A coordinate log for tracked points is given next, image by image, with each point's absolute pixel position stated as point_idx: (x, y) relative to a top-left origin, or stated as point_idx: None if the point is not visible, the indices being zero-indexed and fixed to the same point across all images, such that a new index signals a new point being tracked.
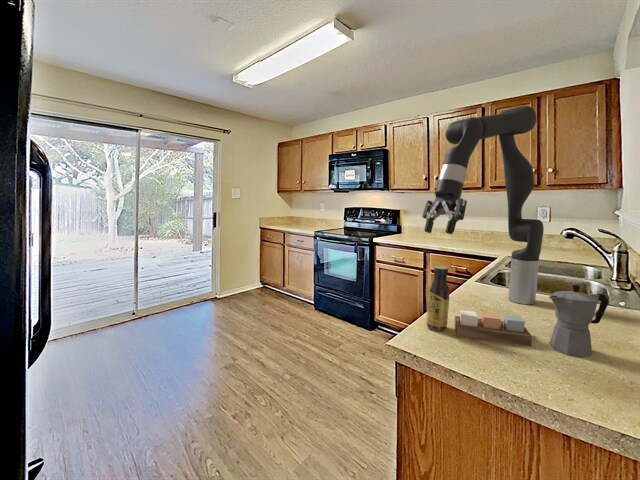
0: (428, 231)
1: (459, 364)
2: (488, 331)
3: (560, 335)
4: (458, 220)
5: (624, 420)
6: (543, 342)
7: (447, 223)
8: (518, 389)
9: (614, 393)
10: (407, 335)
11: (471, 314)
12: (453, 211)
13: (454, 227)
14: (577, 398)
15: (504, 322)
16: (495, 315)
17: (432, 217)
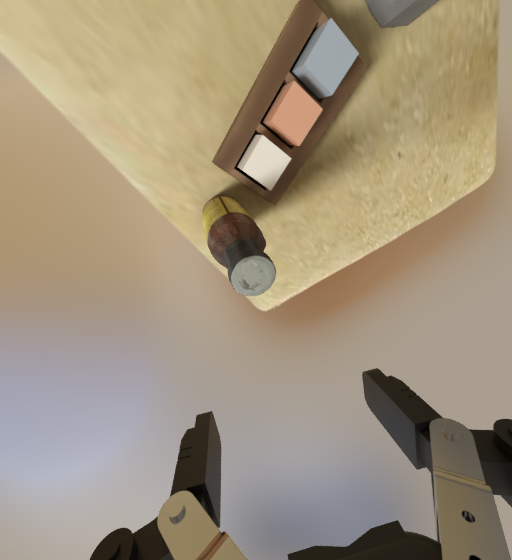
0: (215, 430)
1: (340, 253)
2: (310, 151)
3: (417, 5)
4: (477, 430)
5: (488, 156)
6: (353, 7)
7: (401, 448)
8: (405, 221)
9: (478, 100)
10: None
11: (275, 163)
12: (478, 550)
13: (416, 397)
14: (450, 167)
15: (307, 79)
16: (299, 99)
17: (179, 548)
